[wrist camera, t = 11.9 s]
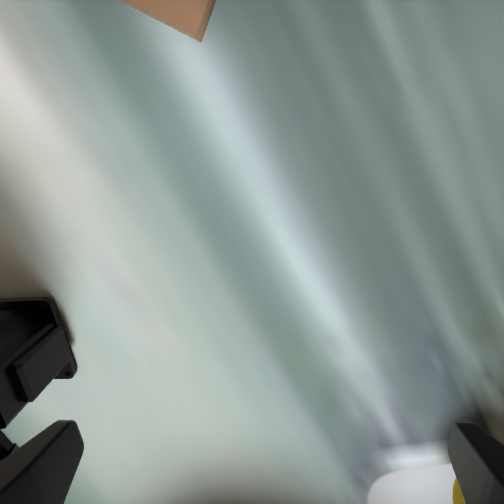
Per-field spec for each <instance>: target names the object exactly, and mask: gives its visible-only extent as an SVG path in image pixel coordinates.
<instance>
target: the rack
mask: <svg viewBox="0 0 504 504" xmlns="http://www.w3.org/2000/svg"><path fill="white" fill-rule="evenodd" d="M121 1H122V2H124V3H126V4H128V5H130V6H132V7H134V8H136V9H138V10H140V11H142V12H144V13H146V14H148V15H149V16H151V17H153V18H155V19H157V20H159V21H161V22H163V23H165V24H167V25H169V26H171V27H173V28H175V29H176V30H178V31H180V32H182V33H184V34H186V35H188V36H190V37H192V38H194V39H196V40H198V41H200V42H201V41H202V39H203V36H204V33H205V30H206V27H207V24H208V21H209V18H210V16H211V13H212V10H213V7H214V4H215V1H216V0H121Z"/></svg>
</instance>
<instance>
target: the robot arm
mask: <svg viewBox="0 0 504 504" xmlns="http://www.w3.org/2000/svg"><path fill="white" fill-rule="evenodd" d="M45 304H46V305H47V306H45ZM76 372H77V369H76V366H75V363H74V360H73V357H72V354H71V351H70V348H69V345H68V342H67V339H66V336H65V333H64V330H63V327H62V324H61V321H60V318H59V315H58V312H57V309H56V306H55V303H54V302H53V300H52V299H50V298H47V297H40V298H15V299H0V504H64V501H65V499H66V496H67V493H68V491H69V488H70V486H71V483H72V480H73V478H74V475H75V473H76V470H77V467H78V465H79V462H80V460H81V457H82V454H83V450H84V442H83V439H82V437H81V434H80V431H79V428H78V426H77V423H76V422H75V421H74V420H59V421H56V422H54V423H53V424H52V425H50V426H49V427H47V428H46V429H45V430H43V431H42V432H40V433H39V434H38V435H36V436H35V437H34V438H32V439H31V440H29V441H28V442H27V443H25V444H24V445H23V446H21V447H19V446H18V445H17V444H16V443H13V442H12V441H11V440H10V439H9V438H8V437H7V435H6V434H5V433H4V432H3V431H2V430H1V429H4V428H6V427H7V426H8V425H9V423H10V422H11V421H12V420H13V419H14V418H15V417H16V416H17V415H18V413H19V412H20V411H21V410H22V409H23V408H24V407H25V406H26V405H27V403H28V402H33V401H34V400H35V399H36V398H37V397H38V396H39V394H40V393H41V392H42V391H43V390H44V389H45V388H46V387H47V385H48V384H49V383H50V382H51V381H52V380H53V379H70V378H72V377H74V375H75V374H76ZM448 452H449V457H450V461H451V463H452V466H453V469H454V472H455V475H456V477H457V480H458V483H459V486H460V489H461V492H462V494H463V497H464V500H465V503H466V504H504V445H503V444H502V443H500V442H499V441H498V440H497V439H495V438H494V437H493V436H492V435H490V434H489V433H488V432H487V431H485V430H484V429H483V428H481V427H480V426H479V425H478V424H476V423H474V422H470V421H456V422H454V423H453V424H452V428H451V434H450V440H449V446H448Z"/></svg>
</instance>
